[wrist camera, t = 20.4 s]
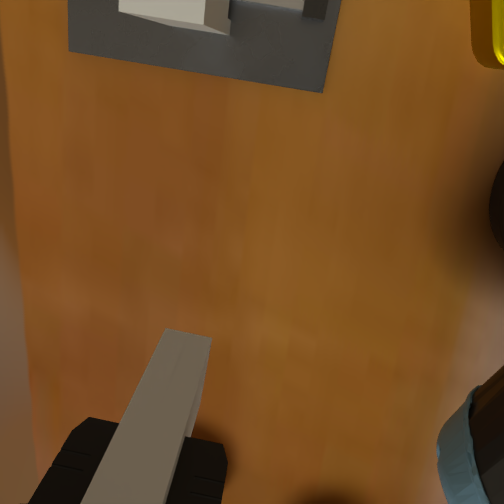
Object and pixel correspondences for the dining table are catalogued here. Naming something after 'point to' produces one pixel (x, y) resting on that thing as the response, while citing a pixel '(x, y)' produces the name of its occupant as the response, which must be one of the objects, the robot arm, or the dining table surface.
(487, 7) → the element tile
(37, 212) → the dining table surface
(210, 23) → the block
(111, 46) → the mounting plate
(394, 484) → the dining table surface
